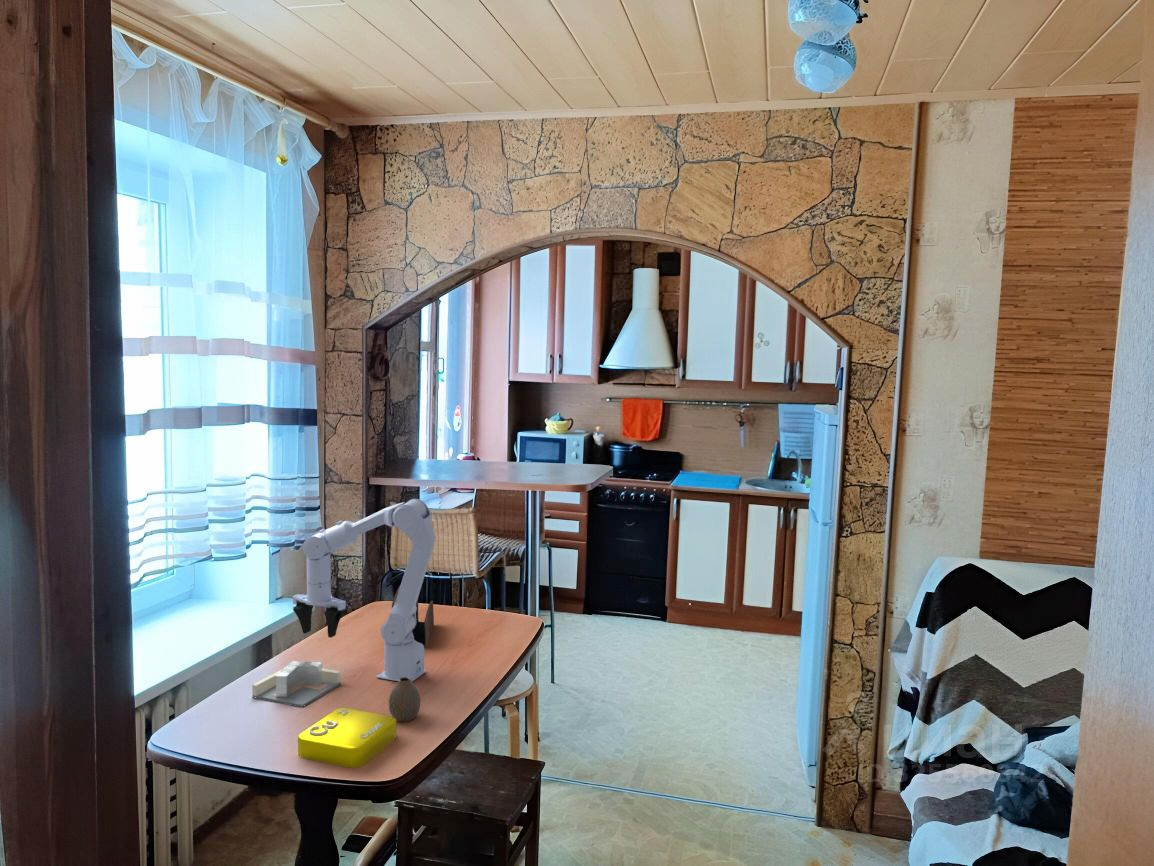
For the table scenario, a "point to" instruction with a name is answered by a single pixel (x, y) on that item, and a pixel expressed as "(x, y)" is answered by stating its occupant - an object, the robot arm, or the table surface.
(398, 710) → the vase
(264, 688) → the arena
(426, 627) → the letter holder
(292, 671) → the bracket
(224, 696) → the table surface
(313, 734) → the element tile
